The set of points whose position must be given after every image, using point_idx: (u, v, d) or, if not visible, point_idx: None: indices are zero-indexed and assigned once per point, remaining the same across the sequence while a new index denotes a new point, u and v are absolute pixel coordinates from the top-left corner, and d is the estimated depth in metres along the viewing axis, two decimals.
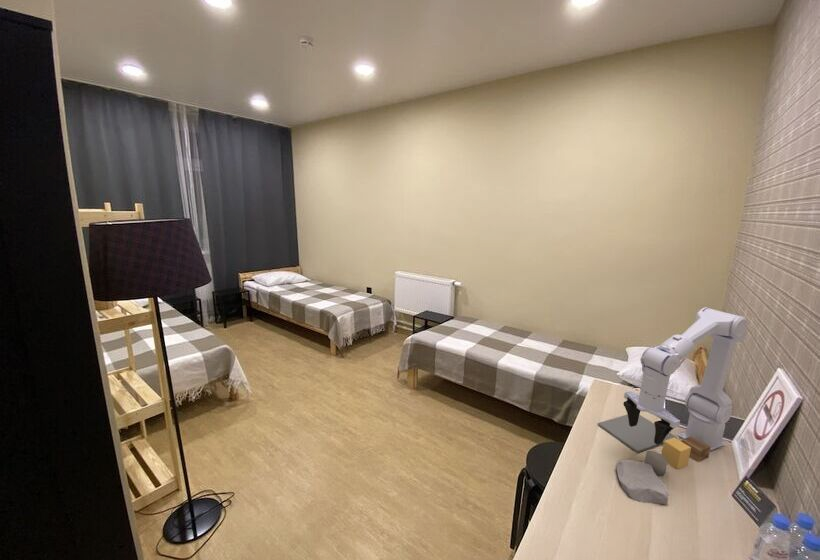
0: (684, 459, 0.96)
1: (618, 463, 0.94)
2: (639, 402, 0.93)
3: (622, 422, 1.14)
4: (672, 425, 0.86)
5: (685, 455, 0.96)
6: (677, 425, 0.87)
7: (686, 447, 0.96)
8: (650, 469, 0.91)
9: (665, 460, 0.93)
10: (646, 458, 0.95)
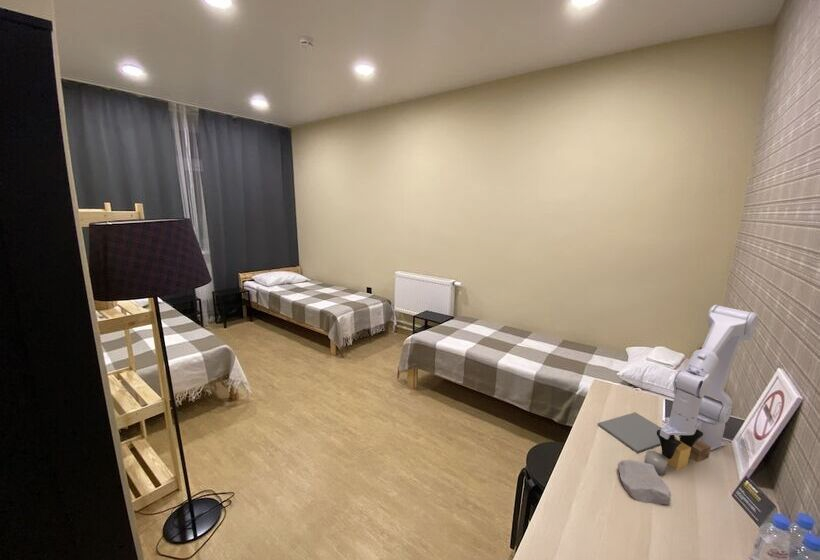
0: (684, 459, 0.96)
1: (620, 463, 0.94)
2: None
3: (622, 422, 1.14)
4: None
5: (685, 455, 0.96)
6: (665, 437, 0.93)
7: (686, 447, 0.96)
8: (652, 469, 0.91)
9: (665, 460, 0.93)
10: (646, 458, 0.95)
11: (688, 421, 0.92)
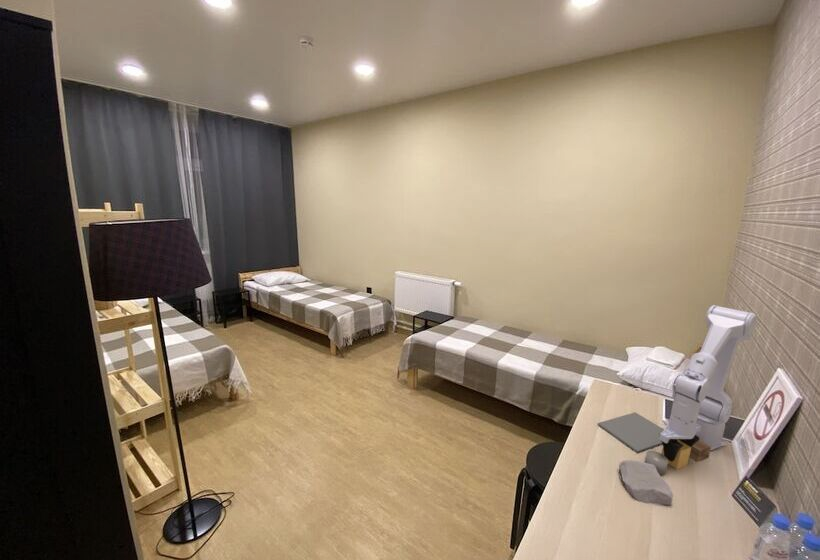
0: (684, 459, 0.96)
1: (621, 464, 0.94)
2: None
3: (622, 422, 1.14)
4: None
5: (685, 455, 0.96)
6: (664, 441, 0.93)
7: (686, 447, 0.96)
8: (654, 469, 0.91)
9: (665, 460, 0.94)
10: (646, 458, 0.95)
11: (687, 425, 0.92)
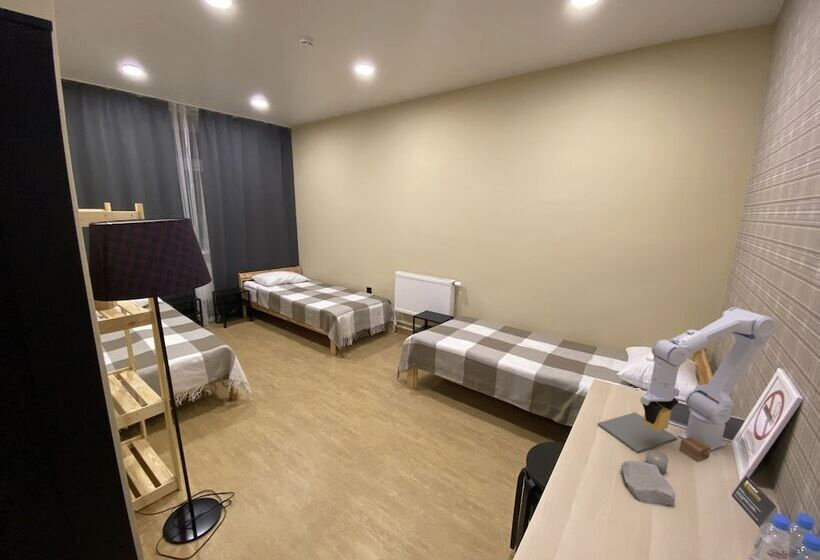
0: (665, 422, 1.01)
1: (624, 464, 0.94)
2: None
3: (622, 422, 1.14)
4: None
5: (666, 418, 1.00)
6: (645, 403, 0.98)
7: (666, 410, 1.01)
8: (656, 470, 0.91)
9: (666, 459, 0.94)
10: (647, 458, 0.95)
11: (666, 388, 0.97)
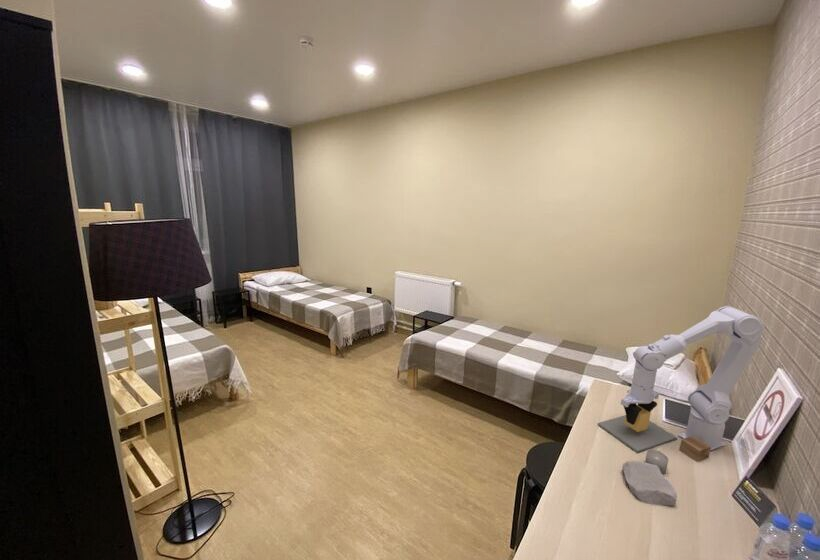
0: (644, 423, 1.07)
1: (625, 464, 0.94)
2: None
3: (622, 422, 1.14)
4: None
5: (645, 419, 1.07)
6: (625, 405, 1.05)
7: (646, 412, 1.07)
8: (657, 470, 0.91)
9: (666, 458, 0.94)
10: (647, 457, 0.96)
11: (645, 391, 1.04)
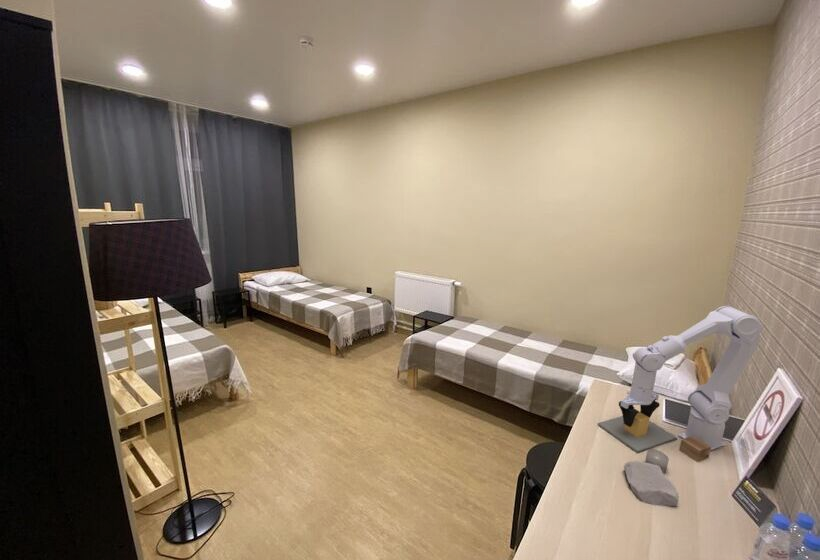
0: (643, 428, 1.08)
1: (626, 465, 0.93)
2: None
3: (622, 422, 1.14)
4: None
5: (644, 424, 1.07)
6: (624, 406, 1.05)
7: (645, 417, 1.07)
8: (659, 470, 0.91)
9: (666, 458, 0.94)
10: (648, 457, 0.96)
11: (645, 392, 1.04)
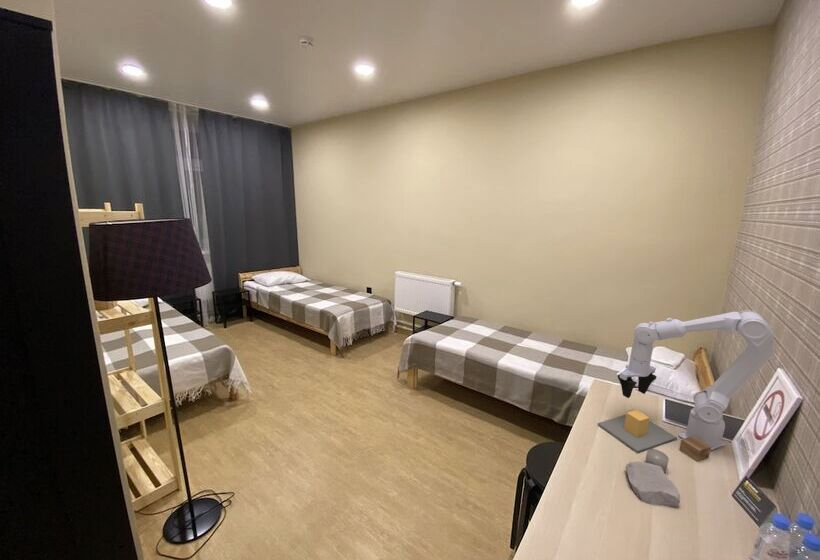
0: (643, 428, 1.08)
1: (628, 465, 0.93)
2: None
3: (622, 422, 1.14)
4: None
5: (644, 424, 1.07)
6: (623, 378, 1.11)
7: (645, 417, 1.07)
8: (660, 471, 0.91)
9: (666, 457, 0.94)
10: (648, 457, 0.96)
11: (642, 364, 1.10)
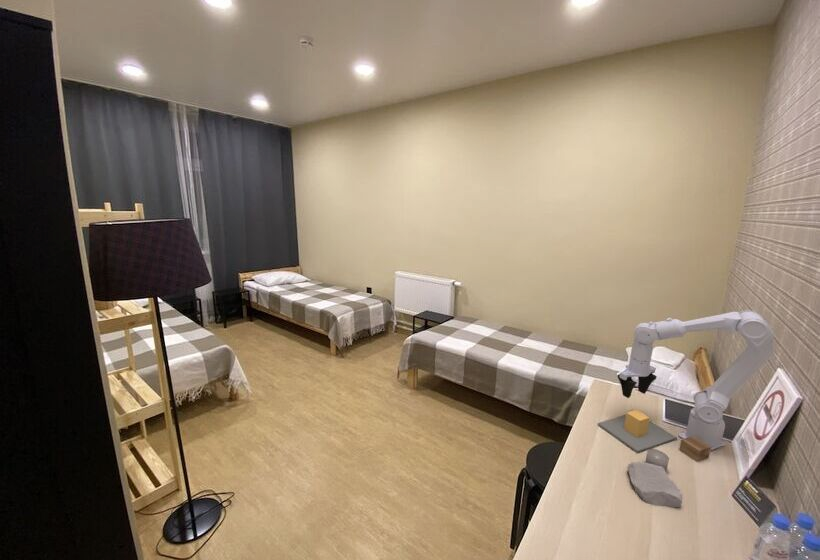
0: (643, 428, 1.08)
1: (630, 465, 0.93)
2: None
3: (622, 422, 1.14)
4: None
5: (644, 424, 1.07)
6: (623, 378, 1.11)
7: (645, 417, 1.07)
8: (662, 471, 0.91)
9: (666, 457, 0.95)
10: (648, 457, 0.96)
11: (642, 364, 1.10)
